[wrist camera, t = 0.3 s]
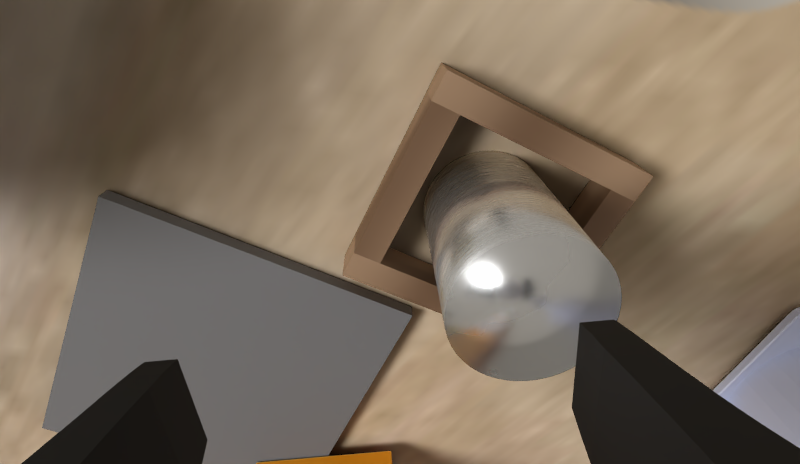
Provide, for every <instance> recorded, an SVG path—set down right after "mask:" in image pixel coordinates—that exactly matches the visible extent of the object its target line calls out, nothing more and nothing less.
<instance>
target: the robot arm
mask: <svg viewBox="0 0 800 464" xmlns="http://www.w3.org/2000/svg"><path fill="white" fill-rule="evenodd" d="M572 409H573V412H574V415H575V418H576V422H577V425H578V428H579V431H580V434H581V437H582V440H583V443H584V445H585V448H586V451H587V454H588V457H589V460H590V463H591V464H800V307H798V308H796V309H794V310H792V311H791V312H790V313H789V314H788V315H787V316H786V317H785V318H784V319H783V320H782V321H781V322H780V323H779V324H778V325H777V326H776V327H775V328H774V329H773V330H772V331H771V332H770V333H769V334H768V335H767V336H766V337H765V338H764V339H763V340H762V341H761V342H760V343H759V344H758V345H757V346H756V347H755V348H754V349H753V350H752V351H751V352H750V353H749V354H748V355H747V356H746V357H745V358H744V359H743V360H742V361H741V362H740V363H739V364H738V365H737V366H736V367H735V368H734V369H733V370H732V371H731V372H730V373H729V374H728V375H727V376H726V377H725V378H724V379H723V380H722V381H721V382H720V383H719V384H718V385H717V386H716V387H715V388H714V389H713V390H711V389H710V388H708V387H707V386H705V385H704V384H703V383H701V382H700V381H698V380H697V379H696V378H694V377H693V376H691V375H690V374H689V373H687V372H686V371H684V370H683V369H682V368H680V367H679V366H678V365H676V364H675V363H674V362H672V361H671V360H669V359H668V358H667V357H665V356H664V355H663V354H661V353H660V352H659V351H657V350H656V349H654V348H653V347H652V346H650V345H649V344H648V343H646V342H645V341H644V340H642V339H641V338H640V337H638V336H637V335H635V334H634V333H633V332H631V331H630V330H629V329H627V328H626V327H624V326H623V325H621V324H620V323H619V322H617V321H616V320H614V319H613V320H602V321H591V322H580V323H579V335H578V346H577V357H576V368H575V379H574V391H573V402H572ZM206 445H207V437H206V434H205V432H204V429H203V426H202V424H201V421H200V418H199V415H198V413H197V410H196V407H195V405H194V402H193V399H192V397H191V394H190V391H189V388H188V386H187V383H186V380H185V378H184V375H183V372H182V370H181V367H180V364H179V361H178V359H173V360H162V361H151V362H144V363H142V364H141V365H140V366H138V367H137V368H136V369H134V370H133V371H132V372H130V373H129V374H128V375H127V376H125V377H124V378H123V379H122V380H121V381H119V382H118V383H117V384H116V385H115V386H113V387H112V388H111V389H110V390H109V391H107V392H106V393H105V394H104V395H103V396H101V397H100V398H99V399H98V400H97V401H95V402H94V403H93V404H92V405H91V406H90V407H88V408H87V409H86V410H85V411H84V412H83V413H81V414H80V415H79V416H78V417H77V418H75V419H74V420H73V421H72V422H71V423H69V424H68V425H67V426H66V427H65V428H64V429H62V430H61V431H60V432H59V433H58V434H56V435H55V436H54V437H53V438H52V439H50V440H49V441H48V442H47V443H46V444H44V445H43V446H42V447H41V448H40V449H38V450H37V451H36V452H35V453H34V454H33V455H31V456H30V457H29V458H28V459H26V460H25V461H24V462H23V463H22V464H202V462H203V458H204V454H205V449H206Z"/></svg>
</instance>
